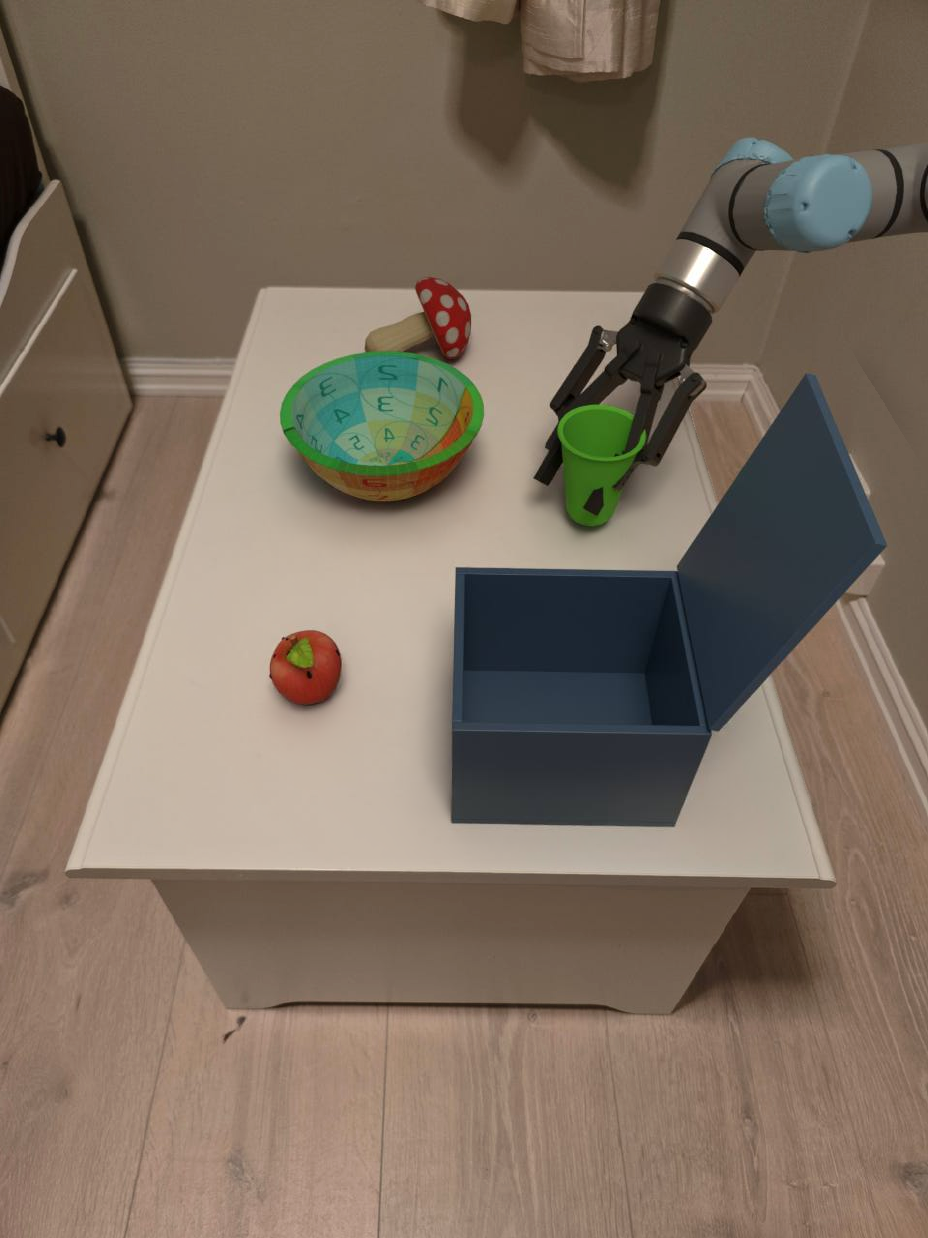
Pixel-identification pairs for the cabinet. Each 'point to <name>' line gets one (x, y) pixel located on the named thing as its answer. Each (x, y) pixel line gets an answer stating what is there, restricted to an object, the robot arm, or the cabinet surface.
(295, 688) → the apple
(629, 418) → the cup
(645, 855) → the cabinet surface
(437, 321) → the decorative mushroom
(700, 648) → the lid
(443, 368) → the bowl
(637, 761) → the box
